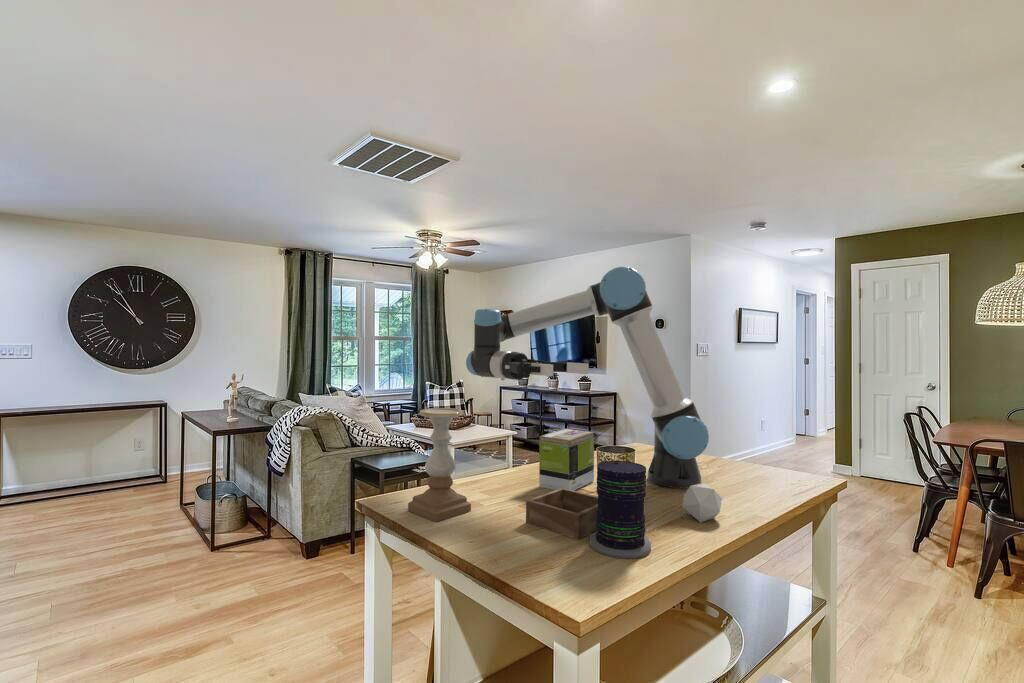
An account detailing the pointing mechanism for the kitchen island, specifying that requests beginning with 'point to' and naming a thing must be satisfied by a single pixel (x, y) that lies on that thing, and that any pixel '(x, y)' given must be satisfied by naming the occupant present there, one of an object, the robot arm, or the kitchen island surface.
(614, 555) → the rubber pad
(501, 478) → the kitchen island surface
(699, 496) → the die
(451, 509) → the candle holder
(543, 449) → the tea box
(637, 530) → the dark blue cylinder
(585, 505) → the walnut open box
